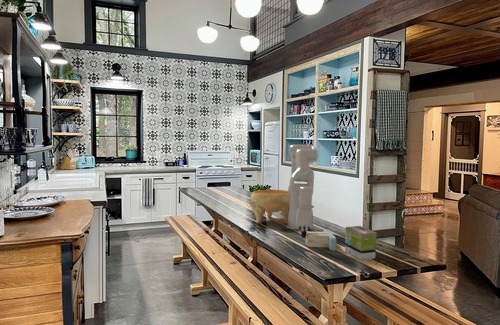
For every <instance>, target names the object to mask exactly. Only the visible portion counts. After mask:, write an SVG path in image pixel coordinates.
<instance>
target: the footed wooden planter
mask: <svg viewBox="0 0 500 325" xmlns="http://www.w3.org/2000/svg"><path fill="white" fill-rule="evenodd" d="M250 200H251V204H250V205H249V206H250V208H251V209H252V213H254V216H255V218H256V220H255V221H256V223H257V224H261V222H262V221H263V220H262V219H263V217H264V215H265V214H266V217H267V218H271V217H272V216H273V213H278V212H280V213H281V215H282V217H283V220H284V223H286V224H288V213H289V192H288V190H286V189H283V190H282V189H261V190H259V189H258V190H255V191H254V190H253V191H252V193H251V194H250Z"/></svg>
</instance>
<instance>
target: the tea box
mask: <svg viewBox="0 0 500 325" xmlns="http://www.w3.org/2000/svg"><path fill="white" fill-rule="evenodd" d="M377 235H378V234H377V232H376V231H373V230H371V229H369V228H366V227H363V226H361V225H356V226H355V225H353V226H346V227H345V236H344V238H345V241H344V252H345V253H348V254H350V255H351V256H353V257H355V258H356V259H358V260H360V261H362V260H363V261H364V259H365V260H371V259H376V251H377V250H376V249H377V237H378V236H377Z"/></svg>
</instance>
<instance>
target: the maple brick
mask: <svg viewBox="0 0 500 325" xmlns="http://www.w3.org/2000/svg"><path fill="white" fill-rule="evenodd" d="M328 242H329V235H328V234H327V233H326V232H323V231H307V236H306V237H305V244H306V245H307V247H309V248H328Z"/></svg>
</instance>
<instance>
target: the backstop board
mask: <svg viewBox="0 0 500 325" xmlns="http://www.w3.org/2000/svg"><path fill="white" fill-rule="evenodd" d="M322 232H326V233H327V234H328V235H329V242H328V247H327V248H328V249H329V250H330V251H337V238H336V236H335V235H334V233H332V232H331V231H330V230H329V229H323V231H322Z"/></svg>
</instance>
